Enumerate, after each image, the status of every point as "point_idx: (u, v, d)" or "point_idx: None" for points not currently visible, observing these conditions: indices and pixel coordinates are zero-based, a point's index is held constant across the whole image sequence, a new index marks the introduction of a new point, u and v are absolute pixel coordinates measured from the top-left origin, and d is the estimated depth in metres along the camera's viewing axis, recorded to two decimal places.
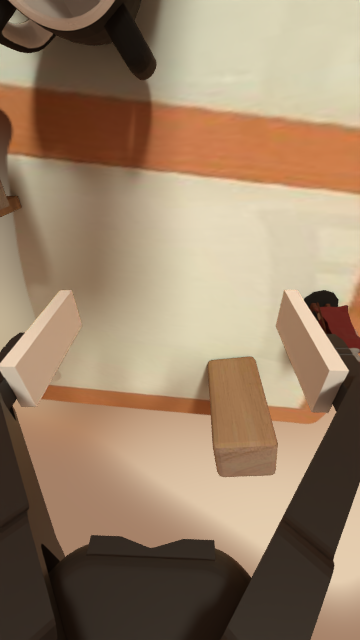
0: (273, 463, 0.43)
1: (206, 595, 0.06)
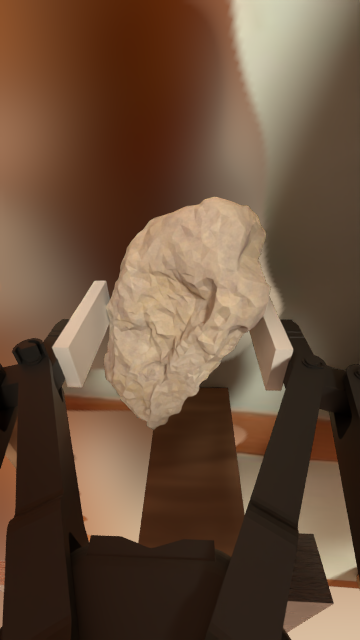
0: None
1: (206, 595, 0.06)
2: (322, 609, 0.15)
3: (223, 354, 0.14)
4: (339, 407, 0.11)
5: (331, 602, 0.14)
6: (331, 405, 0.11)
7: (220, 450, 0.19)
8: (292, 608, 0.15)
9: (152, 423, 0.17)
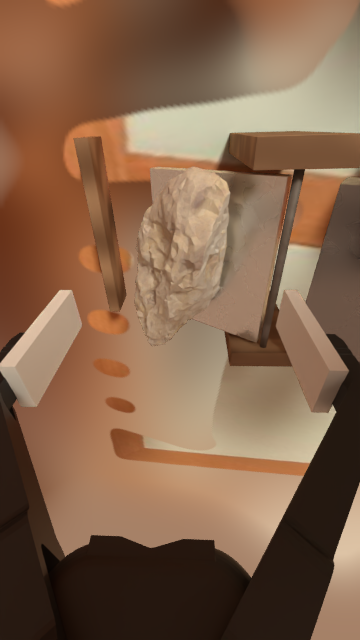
0: None
1: (206, 595, 0.06)
2: None
3: (185, 286, 0.18)
4: None
5: None
6: None
7: (303, 132, 0.20)
8: None
9: (151, 340, 0.24)
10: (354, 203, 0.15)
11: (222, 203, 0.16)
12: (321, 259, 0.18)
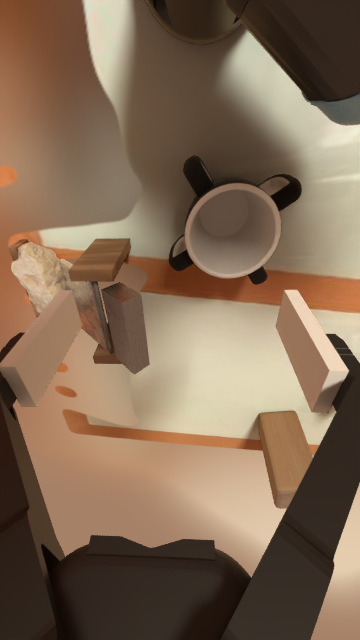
0: None
1: (206, 595, 0.06)
2: (123, 314, 0.35)
3: (22, 285, 0.46)
4: None
5: (121, 302, 0.34)
6: None
7: (116, 250, 0.42)
8: (116, 310, 0.36)
9: None
10: (106, 297, 0.37)
11: (21, 253, 0.43)
12: (107, 316, 0.39)
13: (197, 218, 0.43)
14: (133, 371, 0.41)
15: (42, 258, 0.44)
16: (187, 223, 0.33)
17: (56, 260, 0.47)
